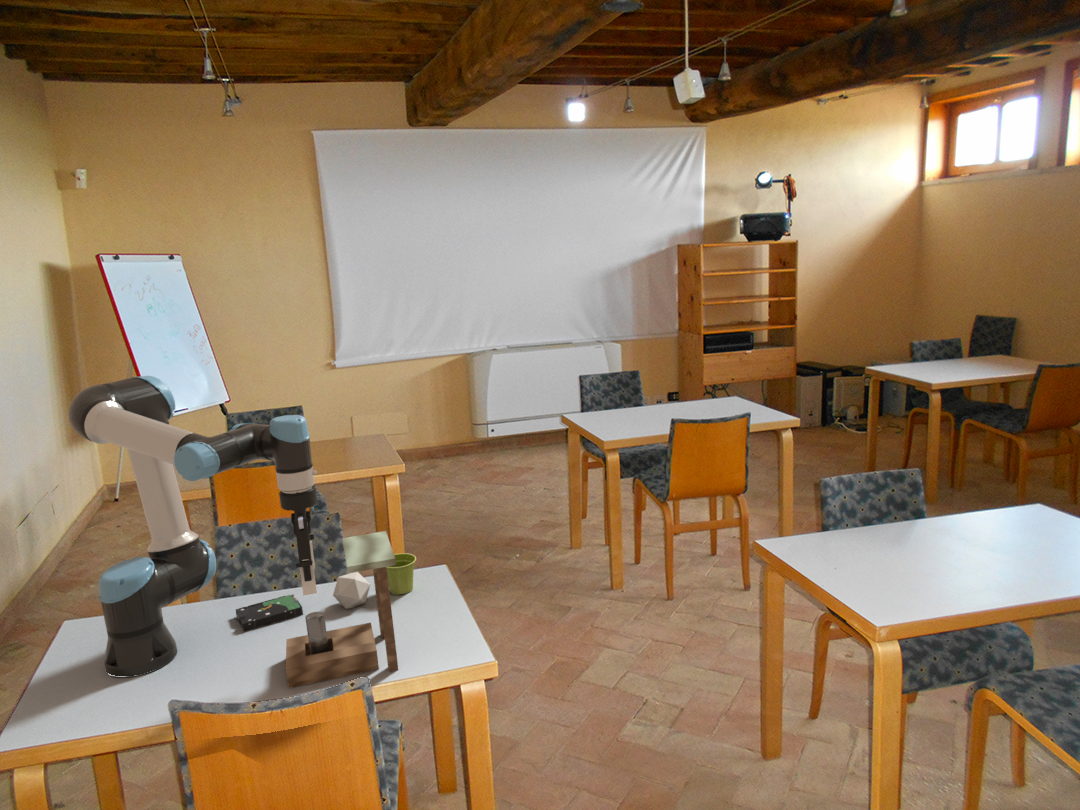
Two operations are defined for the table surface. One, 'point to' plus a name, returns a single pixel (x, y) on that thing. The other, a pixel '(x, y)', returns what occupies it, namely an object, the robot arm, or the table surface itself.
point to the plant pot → (401, 574)
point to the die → (351, 590)
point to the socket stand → (356, 643)
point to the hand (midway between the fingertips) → (309, 581)
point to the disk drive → (268, 612)
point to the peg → (317, 633)
